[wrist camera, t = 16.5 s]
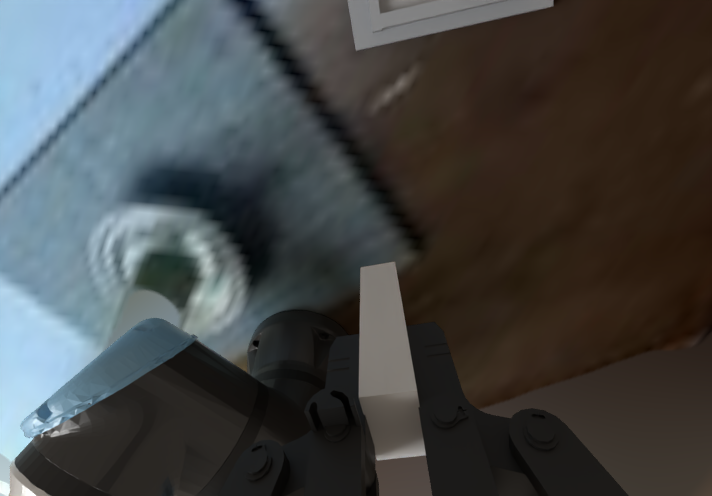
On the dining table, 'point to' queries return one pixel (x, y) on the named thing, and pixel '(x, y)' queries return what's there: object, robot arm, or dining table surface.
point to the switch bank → (426, 17)
